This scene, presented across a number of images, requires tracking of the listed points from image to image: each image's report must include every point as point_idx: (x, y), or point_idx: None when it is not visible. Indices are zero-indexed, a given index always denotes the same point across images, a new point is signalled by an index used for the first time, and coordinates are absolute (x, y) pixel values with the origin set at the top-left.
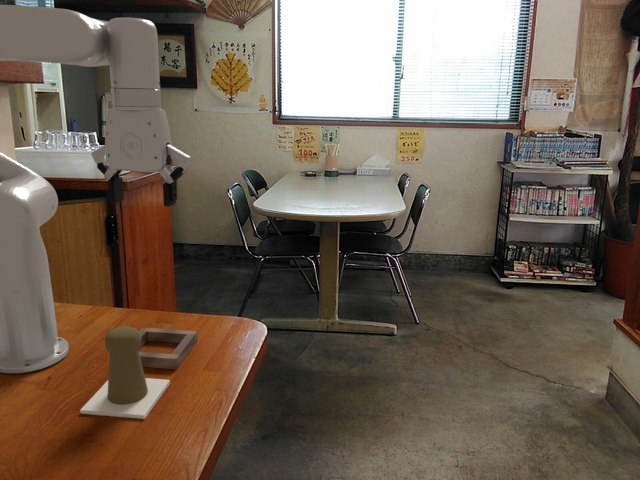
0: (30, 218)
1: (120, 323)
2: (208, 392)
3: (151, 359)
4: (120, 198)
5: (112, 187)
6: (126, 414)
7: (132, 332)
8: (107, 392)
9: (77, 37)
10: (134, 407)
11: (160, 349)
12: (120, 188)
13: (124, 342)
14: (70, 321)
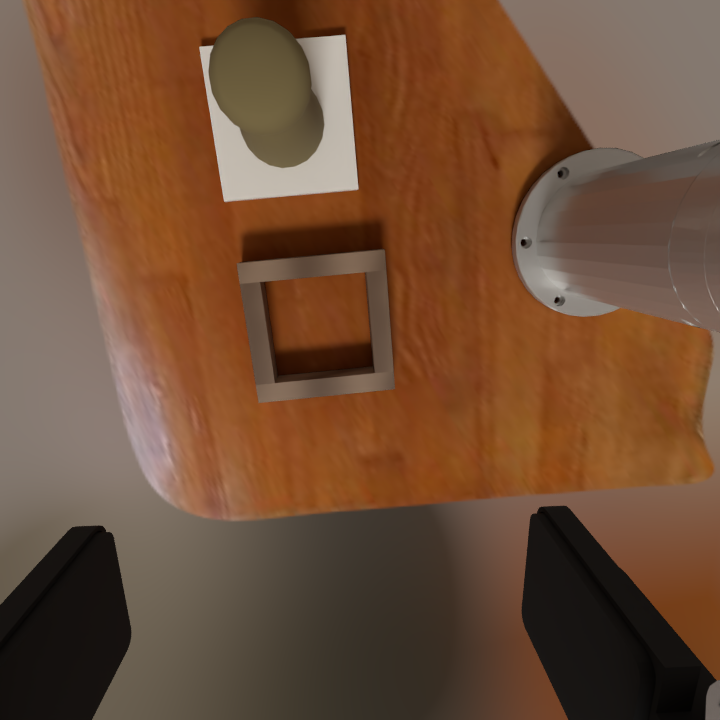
0: None
1: (476, 428)
2: (126, 185)
3: (298, 257)
4: (531, 590)
5: (612, 600)
6: None
7: (220, 68)
8: (328, 117)
9: None
10: None
11: (324, 336)
12: (569, 673)
13: (226, 28)
14: (594, 410)
